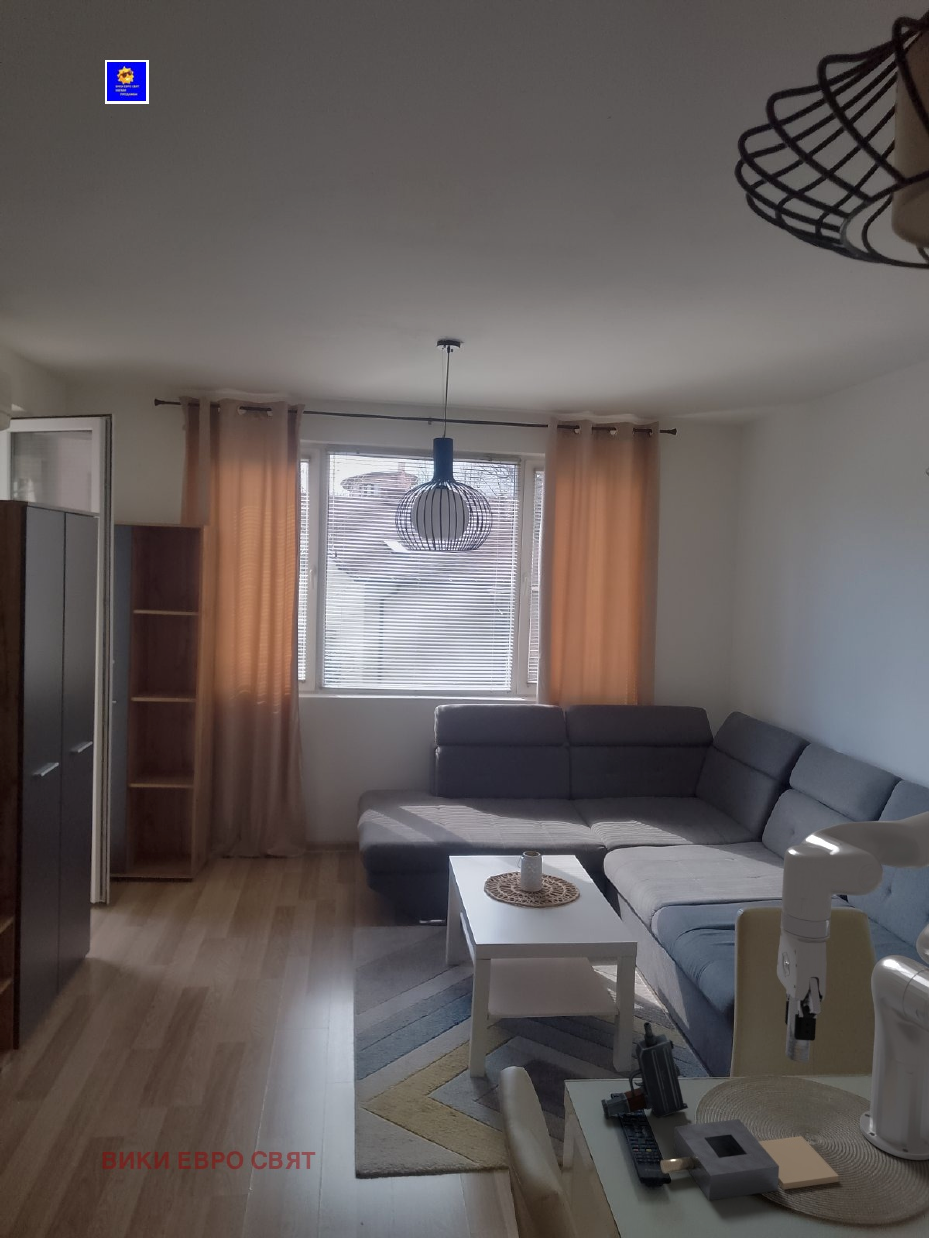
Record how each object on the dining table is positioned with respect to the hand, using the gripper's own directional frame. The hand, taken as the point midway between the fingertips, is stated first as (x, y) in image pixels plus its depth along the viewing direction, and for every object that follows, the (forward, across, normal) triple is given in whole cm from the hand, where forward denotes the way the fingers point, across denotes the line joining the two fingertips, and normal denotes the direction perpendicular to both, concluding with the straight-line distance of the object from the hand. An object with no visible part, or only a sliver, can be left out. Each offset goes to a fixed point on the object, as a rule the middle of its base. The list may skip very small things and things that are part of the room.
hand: (799, 1030), depth 141 cm
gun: (+23, -12, -23) cm, 34 cm away
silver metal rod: (+4, 0, 0) cm, 4 cm away
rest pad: (+23, 0, 0) cm, 23 cm away
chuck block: (+23, +3, -14) cm, 27 cm away
